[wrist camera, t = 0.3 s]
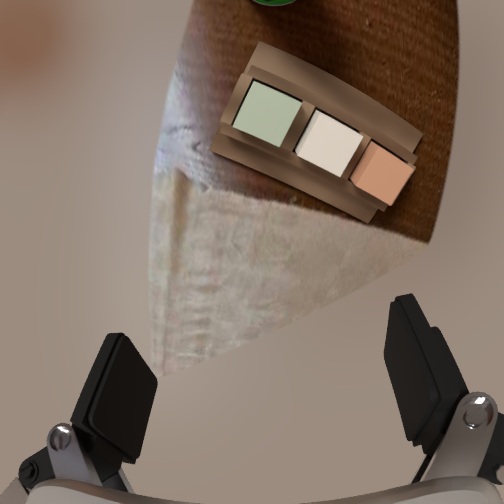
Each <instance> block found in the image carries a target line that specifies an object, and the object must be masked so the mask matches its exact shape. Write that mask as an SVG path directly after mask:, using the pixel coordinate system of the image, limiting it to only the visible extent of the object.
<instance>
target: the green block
mask: <svg viewBox="0 0 504 504" xmlns="http://www.w3.org/2000/svg"><path fill="white" fill-rule="evenodd" d="M301 104H302V103H301V102H299V101H298V100H296V99H294V98H291V97H289V96H287V95H285V94H283V93H281V92H279V91H276V90H274V89H272V88H270V87H267V86H265V85H263V84H260V83H258V82H256V81H254V82H253V84H252V86H251V88H250V90H249V92H248V94H247V96H246V98H245V101H244V103H243V105H242V107H241V109H240V111H239V113H238V116H237V118H236V120H235V122H234V124H233V127H234V128H237V129H239V130H241V131H244V132H246V133H248V134H251V135H253V136H255V137H258V138H260V139H262V140H265V141H267V142H269V143H271V144H273V145H276V146H278V147H280V145H281V143H282V141H283V139H284V137H285V135H286V133H287V131H288V129H289V128H290V126H291V124H292V122H293V120H294V118H295V116H296V114H297V112H298V110H299V108H300V106H301Z"/></svg>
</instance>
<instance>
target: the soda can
mask: <svg viewBox="0 0 504 504" xmlns="http://www.w3.org/2000/svg"><path fill="white" fill-rule="evenodd" d="M253 1H255V2H257V3H259V4H263V5H268V6H282V5H286V4H289V3H292V2H294V1H295V0H253Z"/></svg>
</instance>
